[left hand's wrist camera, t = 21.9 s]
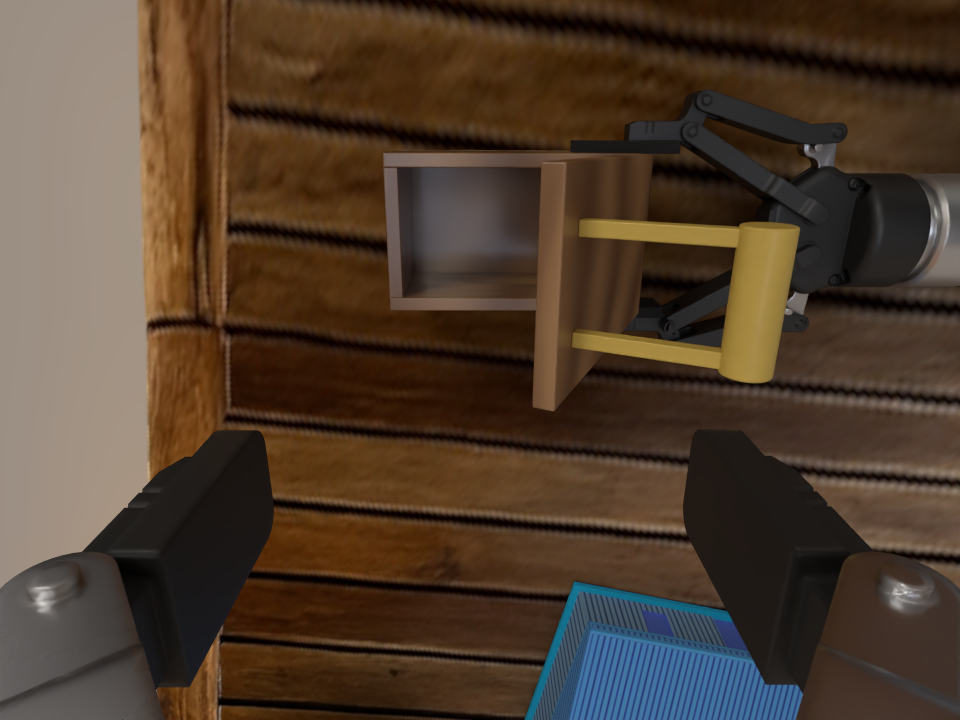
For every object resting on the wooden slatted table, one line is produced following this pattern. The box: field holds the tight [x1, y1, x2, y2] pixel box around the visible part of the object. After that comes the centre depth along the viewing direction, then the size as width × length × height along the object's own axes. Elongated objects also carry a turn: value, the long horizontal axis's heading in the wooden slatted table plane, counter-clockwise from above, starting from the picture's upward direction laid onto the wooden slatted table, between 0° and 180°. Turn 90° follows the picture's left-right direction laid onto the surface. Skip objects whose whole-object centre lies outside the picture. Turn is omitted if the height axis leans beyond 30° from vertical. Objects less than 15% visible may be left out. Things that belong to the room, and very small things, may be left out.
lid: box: [533, 153, 800, 411], centre depth 29 cm, size 17×10×9 cm
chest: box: [383, 150, 638, 311], centre depth 43 cm, size 16×10×9 cm, turn 90°
